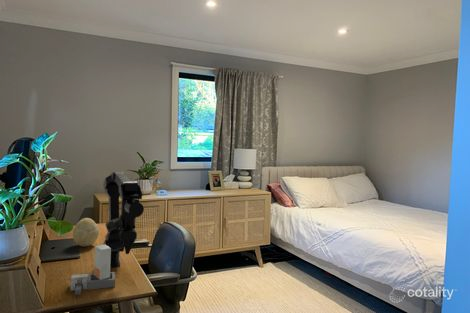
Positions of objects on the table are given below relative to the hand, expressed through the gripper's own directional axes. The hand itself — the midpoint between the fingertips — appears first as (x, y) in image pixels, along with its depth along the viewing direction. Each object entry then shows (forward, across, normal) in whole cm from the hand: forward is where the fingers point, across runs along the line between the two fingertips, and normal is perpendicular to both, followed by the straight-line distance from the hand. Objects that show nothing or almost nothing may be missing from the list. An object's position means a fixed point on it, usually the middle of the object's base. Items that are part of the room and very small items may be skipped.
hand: (126, 250), depth 138 cm
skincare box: (+10, 0, -9) cm, 14 cm away
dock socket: (+13, 0, -9) cm, 16 cm away
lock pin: (+13, +3, -17) cm, 22 cm away
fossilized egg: (+13, -52, -20) cm, 57 cm away
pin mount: (+13, +1, -17) cm, 22 cm away
